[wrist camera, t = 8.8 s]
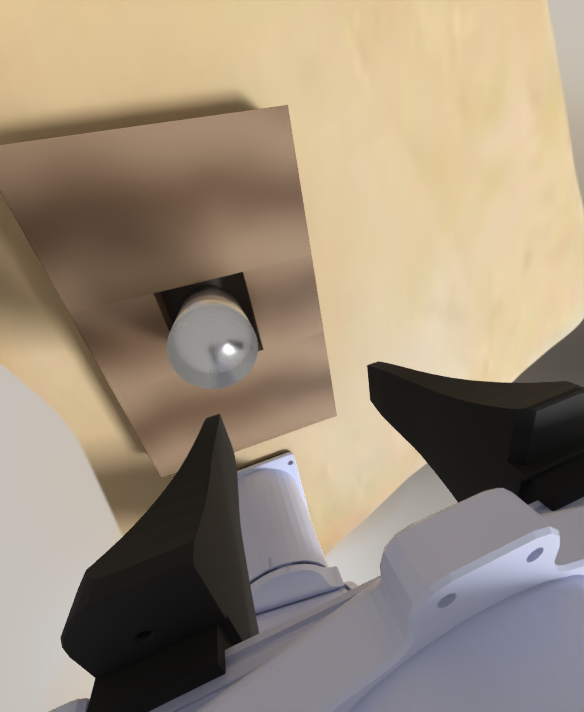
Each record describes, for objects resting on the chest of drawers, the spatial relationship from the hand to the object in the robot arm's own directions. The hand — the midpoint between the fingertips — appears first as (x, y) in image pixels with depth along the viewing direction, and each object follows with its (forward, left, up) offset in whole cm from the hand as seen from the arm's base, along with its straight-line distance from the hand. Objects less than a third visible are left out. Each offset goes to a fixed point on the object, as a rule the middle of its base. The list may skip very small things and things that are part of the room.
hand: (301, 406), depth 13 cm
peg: (+3, +3, -9) cm, 10 cm away
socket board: (+3, +3, -9) cm, 10 cm away
